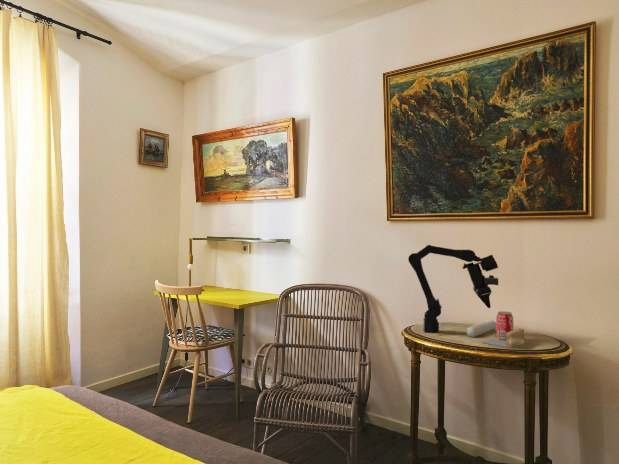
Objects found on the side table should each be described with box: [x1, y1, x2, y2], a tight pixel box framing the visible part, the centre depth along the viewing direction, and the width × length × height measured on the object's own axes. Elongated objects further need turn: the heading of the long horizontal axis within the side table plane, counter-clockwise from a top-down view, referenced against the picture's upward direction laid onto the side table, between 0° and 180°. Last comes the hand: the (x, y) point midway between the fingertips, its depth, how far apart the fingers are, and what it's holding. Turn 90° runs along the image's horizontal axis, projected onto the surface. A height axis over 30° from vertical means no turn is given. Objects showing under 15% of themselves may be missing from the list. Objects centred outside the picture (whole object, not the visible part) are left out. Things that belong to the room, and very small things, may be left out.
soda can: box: [495, 310, 514, 341], centre depth 198 cm, size 7×7×12 cm
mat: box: [482, 338, 507, 348], centre depth 189 cm, size 10×10×1 cm
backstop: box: [505, 328, 525, 349], centre depth 186 cm, size 2×14×6 cm, turn 134°
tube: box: [466, 319, 496, 338], centre depth 210 cm, size 5×5×25 cm
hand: (488, 306), depth 205 cm, fingers open, 9 cm apart
